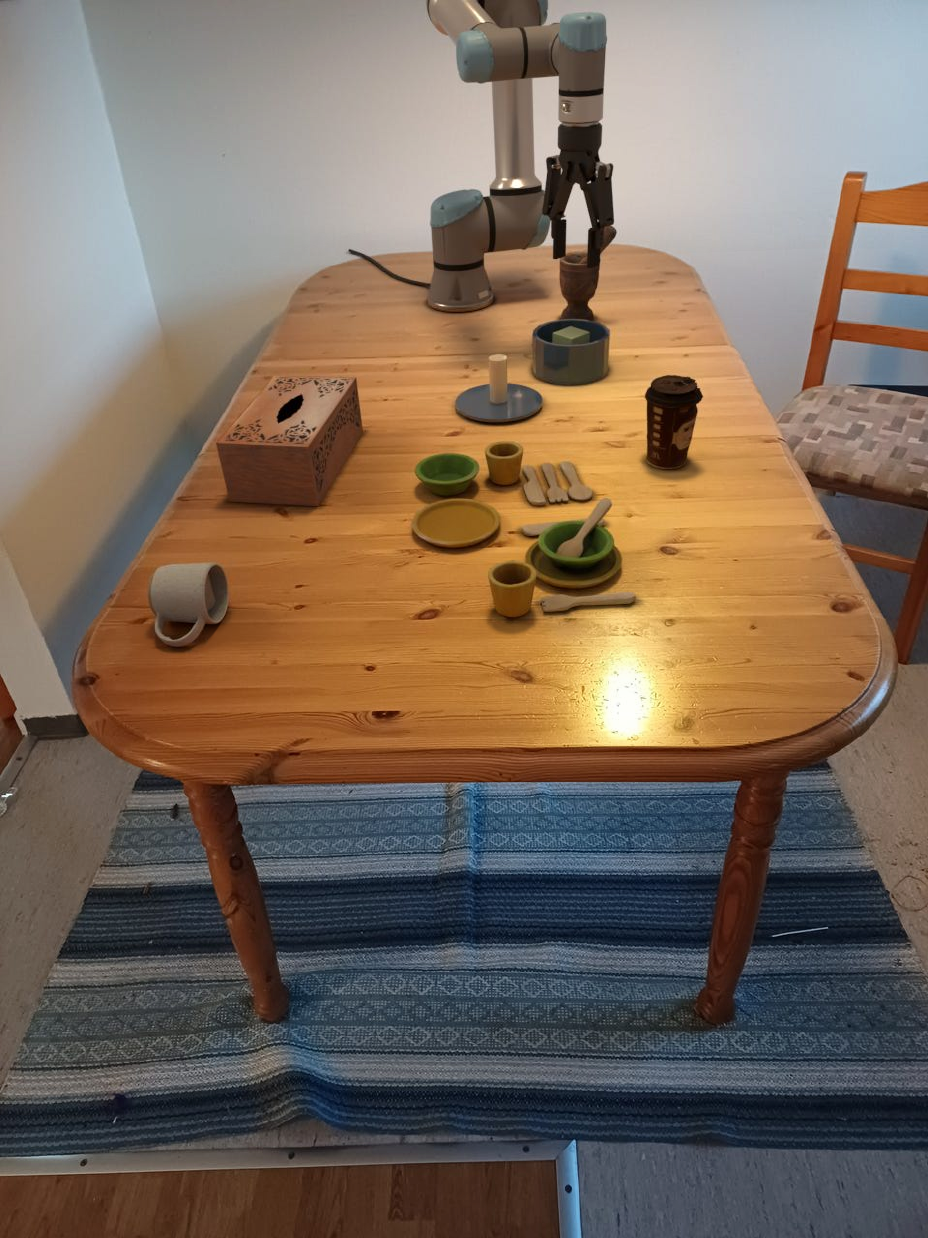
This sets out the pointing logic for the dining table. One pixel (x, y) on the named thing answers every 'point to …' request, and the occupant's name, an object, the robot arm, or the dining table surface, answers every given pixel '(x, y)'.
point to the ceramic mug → (188, 597)
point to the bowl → (570, 353)
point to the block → (571, 336)
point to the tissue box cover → (291, 440)
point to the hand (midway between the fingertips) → (576, 261)
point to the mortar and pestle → (580, 281)
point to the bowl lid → (498, 397)
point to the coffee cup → (670, 420)
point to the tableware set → (561, 549)
